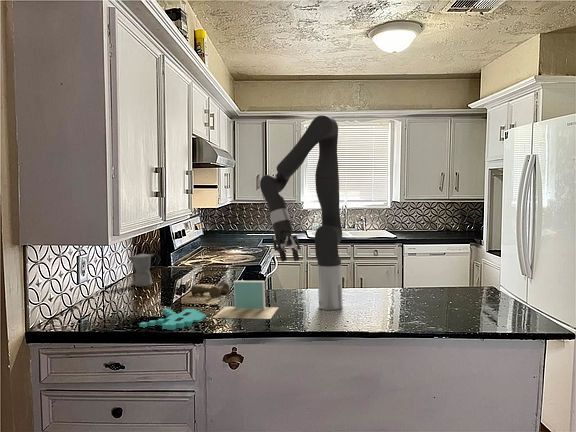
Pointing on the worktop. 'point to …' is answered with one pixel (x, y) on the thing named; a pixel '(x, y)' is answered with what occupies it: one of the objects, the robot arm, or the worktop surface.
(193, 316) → the alien figure
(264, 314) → the tan flat rectangular board
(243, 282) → the tile
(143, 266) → the coffeepot
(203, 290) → the kendama
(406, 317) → the worktop surface
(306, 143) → the robot arm
